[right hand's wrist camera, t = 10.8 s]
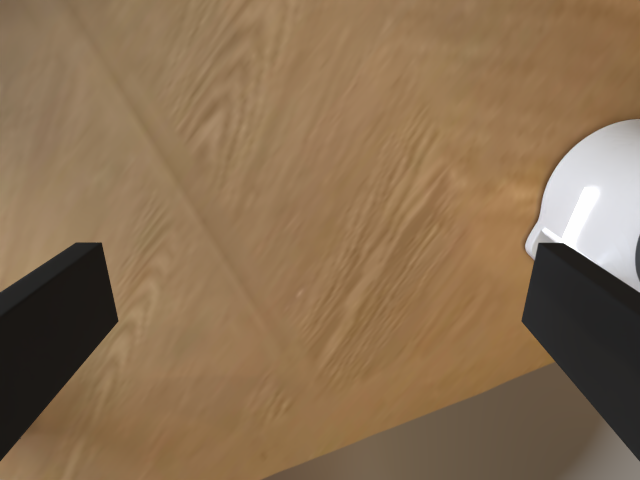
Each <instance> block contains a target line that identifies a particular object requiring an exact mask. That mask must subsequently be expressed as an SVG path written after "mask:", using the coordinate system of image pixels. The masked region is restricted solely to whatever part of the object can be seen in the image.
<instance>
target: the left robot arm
mask: <svg viewBox="0 0 640 480" xmlns="http://www.w3.org/2000/svg"><path fill="white" fill-rule="evenodd" d="M538 243H565V244H567V245H568V246H570V247H571V248H573V249H574V250H576V251H577V252H579V253H580V254H582V255H583V256H585V257H587V258H588V259H590V260H591V261H593V262H594V263H596V264H597V265H599V266H600V267H602V268H603V269H605V270H606V271H608V272H609V273H611V274H612V275H614V276H615V277H617V278H618V279H620V280H622V281H623V282H625V283H626V284H628V285H629V286H631V287H632V288H634V289H635V290H637V291H638V292H640V119H632V120H625V121H621V122H617V123H614V124H611V125H608V126H606V127H604V128H601V129H599V130H597V131H596V132H594V133H592V134H590V135H589V136H587V137H586V138H584V139H583V140H582V141H580V142H579V143H578V144H577V145H576V146H574V147H573V148H572V149H571V150H570V151H569V152H568V153H567V154H566V155H565V157H564V158H563V159H562V160H561V161H560V163H559V164H558V166H557V167H556V169H555V170H554V172H553V173H552V175H551V177H550V179H549V181H548V183H547V186H546V189H545V192H544V195H543V199H542V205H541V211H540V216H539V219H538V222H537V223H536V225H535V227H534V228H533V230H532V231H531V233H530V235H529V237H528V239H527V241H526V245H525V249H526V252H527V253H528V254H529V255H530V256H531V257H532V258H533V259H534V260H535V256H536V251H537V247H538Z"/></svg>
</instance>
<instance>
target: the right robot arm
mask: <svg viewBox="0 0 640 480" xmlns="http://www.w3.org/2000/svg"><path fill="white" fill-rule="evenodd" d="M117 322H118V317H117V312H116V307H115V303H114V298H113V293H112V289H111V284H110V279H109V275H108V270H107V265H106V261H105V256H104V251H103V247H102V243H75V244H73V245H72V246H70V247H69V248H67V249H66V250H64V251H63V252H61V253H60V254H58V255H57V256H55V257H53V258H52V259H50V260H49V261H47V262H46V263H44V264H43V265H41V266H40V267H38V268H37V269H35V270H34V271H32V272H31V273H29V274H28V275H26V276H25V277H23V278H22V279H20V280H18V281H17V282H15V283H14V284H12V285H11V286H9V287H8V288H6V289H5V290H3V291H2V292H0V461H1V460H2V459H3V457H4V456H5V455H6V454H7V453H8V452H9V450H10V449H11V448H12V447H13V446H14V444H15V443H16V442H17V441H18V440H19V439H20V437H21V436H22V435H23V434H24V433H25V431H26V430H27V429H28V428H29V427H30V425H31V424H32V423H33V422H34V421H35V420H36V418H37V417H38V416H39V415H40V414H41V412H42V411H43V410H44V409H45V408H46V407H47V405H48V404H49V403H50V402H51V401H52V399H53V398H54V397H55V396H56V395H57V393H58V392H59V391H60V390H61V389H62V388H63V386H64V385H65V384H66V383H67V382H68V380H69V379H70V378H71V377H72V376H73V375H74V373H75V372H76V371H77V370H78V369H79V367H80V366H81V365H82V364H83V363H84V361H85V360H86V359H87V358H88V357H89V356H90V354H91V353H92V352H93V351H94V350H95V348H96V347H97V346H98V345H99V344H100V343H101V341H102V340H103V339H104V338H105V337H106V335H107V334H108V333H109V332H110V331H111V329H112V328H113V327H114V326H115V325H116V324H117ZM522 322H523V324H524V325H525V326H526V327H527V328H528V329H529V331H530V332H531V333H532V334H533V335H534V337H535V338H536V339H537V340H538V341H539V343H540V344H541V345H542V346H543V347H544V348H545V350H546V351H547V352H548V353H549V354H550V356H551V357H552V358H553V359H554V360H555V361H556V363H557V364H558V365H559V366H560V367H561V369H562V370H563V371H564V372H565V373H566V374H567V376H568V377H569V378H570V379H571V380H572V382H573V383H574V384H575V385H576V386H577V388H578V389H579V390H580V391H581V392H582V393H583V395H584V396H585V397H586V398H587V399H588V401H589V402H590V403H591V404H592V405H593V407H594V408H595V409H596V410H597V411H598V412H599V414H600V415H601V416H602V417H603V418H604V419H605V421H606V422H607V423H608V424H609V425H610V427H611V428H612V429H613V430H614V431H615V433H616V434H617V435H618V436H619V437H620V438H621V440H622V441H623V442H624V443H625V444H626V446H627V447H628V448H629V449H630V450H631V452H632V453H633V454H634V455H635V456H636V457H637V459H638V460H639V461H640V292H638V291H637V290H635V289H634V288H632V287H631V286H629V285H628V284H626V283H625V282H623V281H622V280H620V279H618V278H617V277H615V276H614V275H612V274H611V273H609V272H608V271H606V270H605V269H603V268H602V267H600V266H599V265H597V264H596V263H594V262H593V261H591V260H590V259H588V258H587V257H585V256H583V255H582V254H580V253H579V252H577V251H576V250H574V249H573V248H571V247H570V246H568V245H567V244H565V243H538V247H537V251H536V256H535V261H534V265H533V270H532V275H531V279H530V284H529V289H528V293H527V298H526V303H525V307H524V312H523V317H522Z"/></svg>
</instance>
